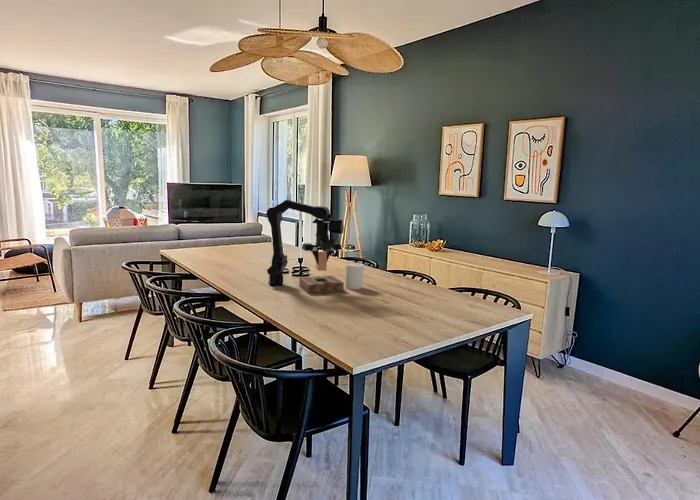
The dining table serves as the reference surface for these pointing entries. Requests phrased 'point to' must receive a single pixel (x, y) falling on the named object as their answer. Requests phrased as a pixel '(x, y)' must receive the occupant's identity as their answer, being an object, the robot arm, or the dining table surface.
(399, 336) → the dining table surface
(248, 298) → the dining table surface
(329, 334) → the dining table surface
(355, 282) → the candle holder
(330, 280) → the socket block
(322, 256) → the peg
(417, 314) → the dining table surface
